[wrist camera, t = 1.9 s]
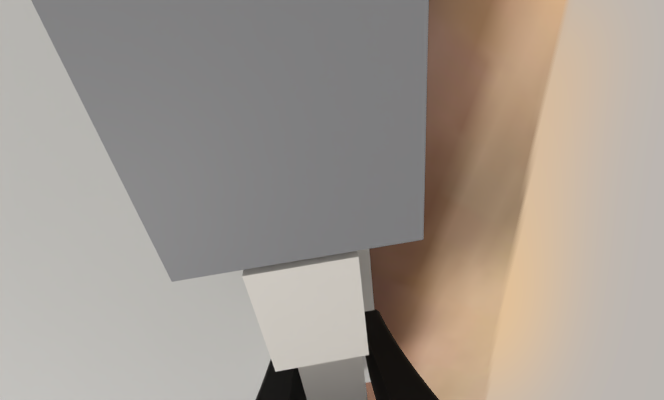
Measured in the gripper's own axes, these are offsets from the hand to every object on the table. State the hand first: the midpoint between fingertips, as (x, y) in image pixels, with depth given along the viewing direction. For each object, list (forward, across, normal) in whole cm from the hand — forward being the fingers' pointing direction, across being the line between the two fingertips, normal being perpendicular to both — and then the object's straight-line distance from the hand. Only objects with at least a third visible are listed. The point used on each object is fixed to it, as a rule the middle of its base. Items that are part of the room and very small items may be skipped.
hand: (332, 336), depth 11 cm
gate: (+2, 0, -2) cm, 3 cm away
